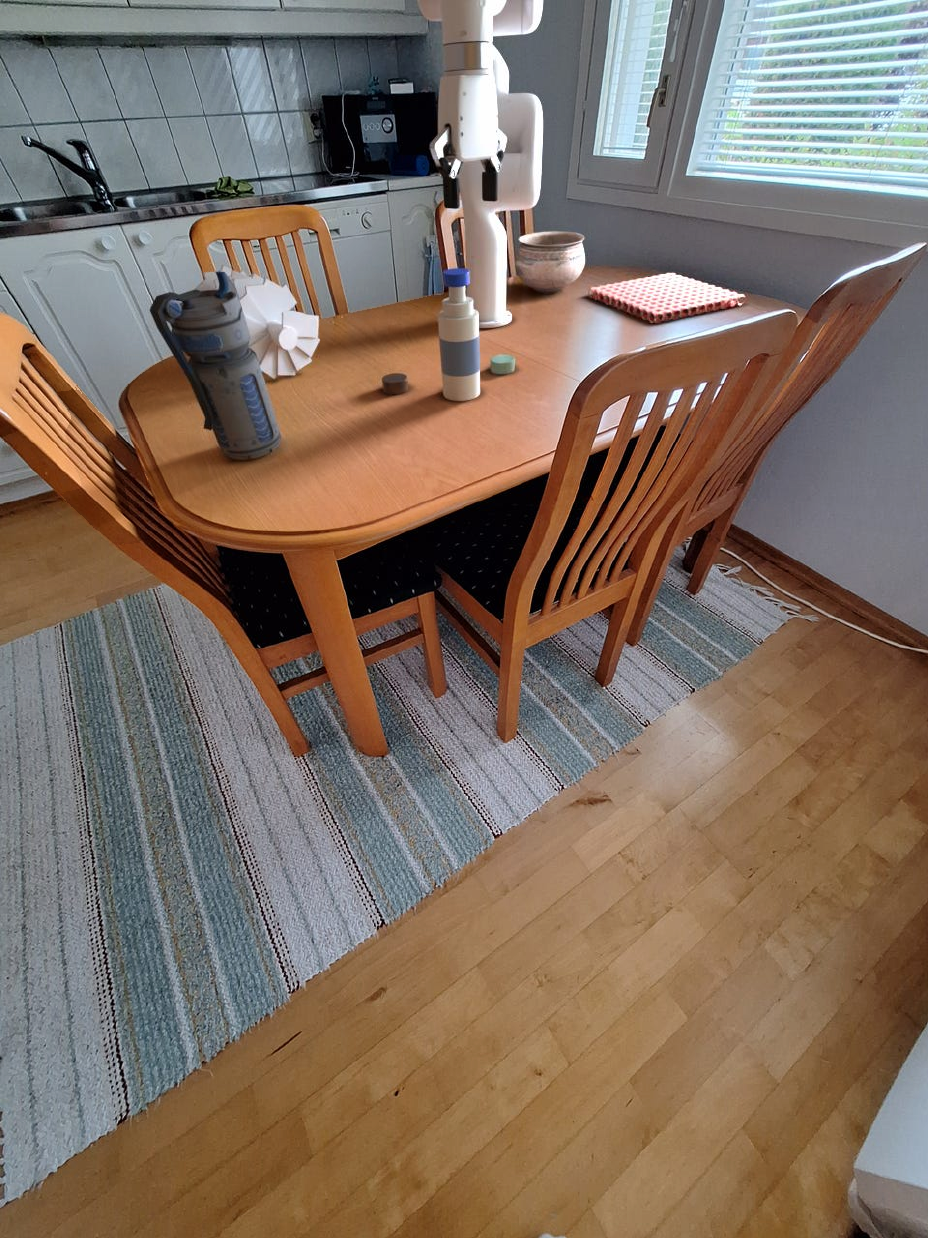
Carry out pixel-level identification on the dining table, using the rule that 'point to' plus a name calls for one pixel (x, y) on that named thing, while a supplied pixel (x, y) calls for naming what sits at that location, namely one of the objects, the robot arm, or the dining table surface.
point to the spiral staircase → (271, 322)
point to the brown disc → (395, 383)
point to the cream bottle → (459, 339)
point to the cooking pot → (550, 260)
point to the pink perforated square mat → (665, 297)
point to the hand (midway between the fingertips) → (471, 204)
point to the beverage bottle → (220, 366)
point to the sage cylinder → (502, 364)
